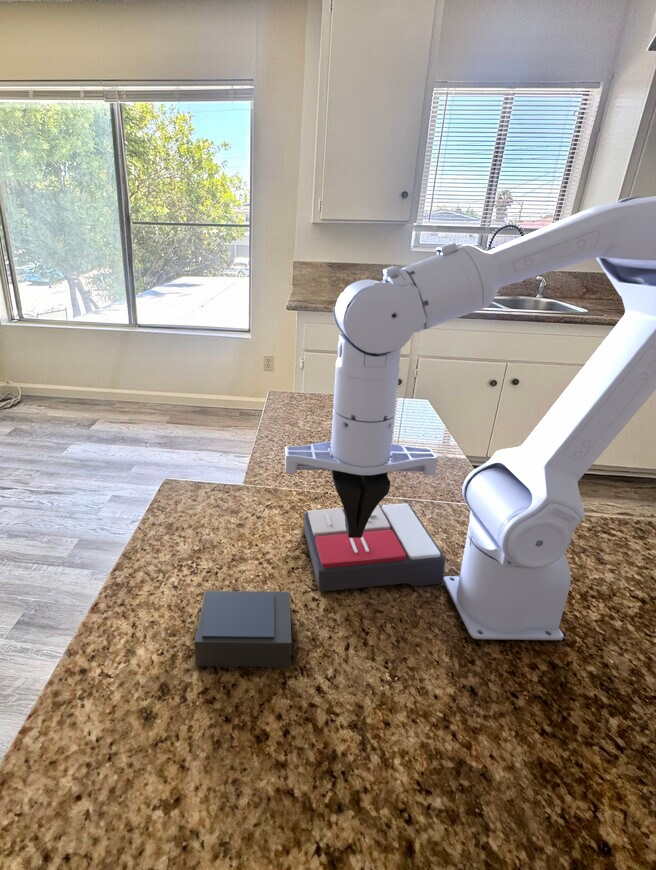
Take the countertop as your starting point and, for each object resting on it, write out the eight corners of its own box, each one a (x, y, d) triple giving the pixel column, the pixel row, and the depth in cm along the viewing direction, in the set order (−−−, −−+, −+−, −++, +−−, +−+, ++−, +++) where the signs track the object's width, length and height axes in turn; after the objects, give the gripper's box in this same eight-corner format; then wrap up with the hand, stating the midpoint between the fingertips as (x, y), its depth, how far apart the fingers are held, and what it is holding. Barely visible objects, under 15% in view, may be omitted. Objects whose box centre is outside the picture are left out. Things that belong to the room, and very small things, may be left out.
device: (289, 590, 44) (204, 589, 44) (291, 642, 39) (194, 641, 39) (288, 613, 45) (205, 612, 45) (290, 667, 40) (195, 666, 40)
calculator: (303, 507, 57) (409, 497, 59) (303, 533, 59) (407, 523, 60) (319, 566, 47) (447, 553, 48) (319, 596, 48) (444, 583, 49)
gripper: (425, 396, 43) (410, 508, 47) (285, 394, 43) (282, 506, 47) (453, 424, 37) (433, 553, 41) (287, 422, 37) (284, 551, 41)
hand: (353, 531), depth 43 cm, fingers closed
